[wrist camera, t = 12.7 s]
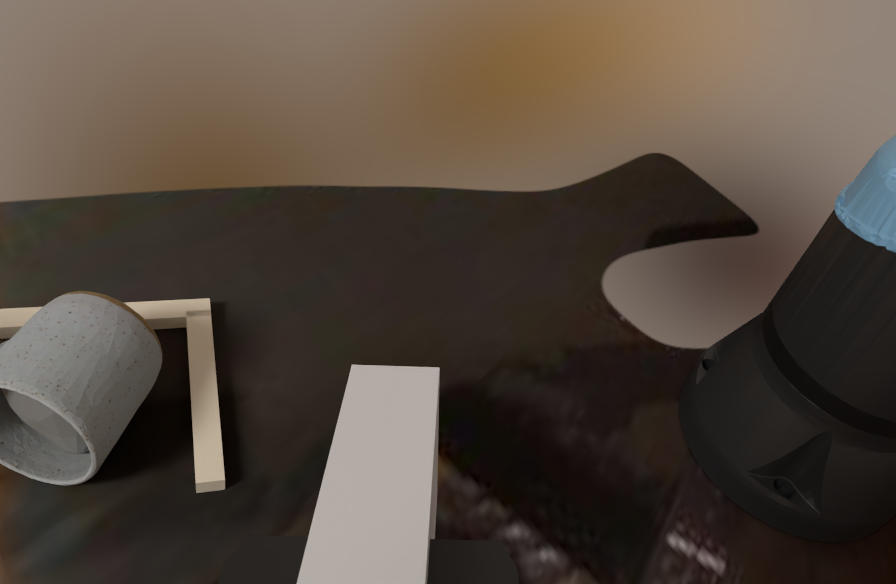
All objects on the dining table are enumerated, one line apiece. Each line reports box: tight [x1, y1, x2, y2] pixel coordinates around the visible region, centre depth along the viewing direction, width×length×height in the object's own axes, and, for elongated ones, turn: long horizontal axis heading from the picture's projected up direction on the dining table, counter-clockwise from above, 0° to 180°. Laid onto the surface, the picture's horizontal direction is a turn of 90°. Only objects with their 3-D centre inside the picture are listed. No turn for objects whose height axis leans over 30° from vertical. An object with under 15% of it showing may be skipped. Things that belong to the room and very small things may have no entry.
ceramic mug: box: [0, 291, 162, 486], centre depth 43 cm, size 11×8×8 cm
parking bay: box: [0, 298, 225, 493], centre depth 45 cm, size 17×14×1 cm
